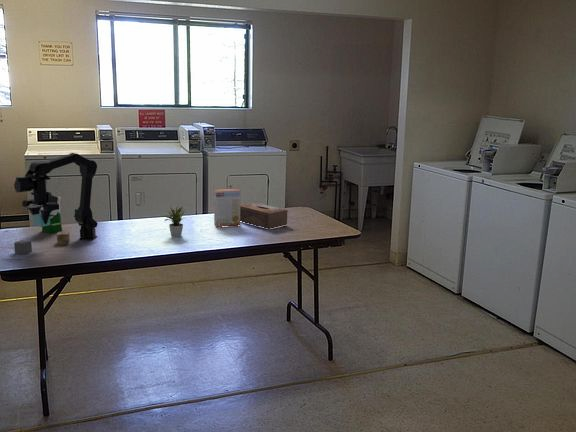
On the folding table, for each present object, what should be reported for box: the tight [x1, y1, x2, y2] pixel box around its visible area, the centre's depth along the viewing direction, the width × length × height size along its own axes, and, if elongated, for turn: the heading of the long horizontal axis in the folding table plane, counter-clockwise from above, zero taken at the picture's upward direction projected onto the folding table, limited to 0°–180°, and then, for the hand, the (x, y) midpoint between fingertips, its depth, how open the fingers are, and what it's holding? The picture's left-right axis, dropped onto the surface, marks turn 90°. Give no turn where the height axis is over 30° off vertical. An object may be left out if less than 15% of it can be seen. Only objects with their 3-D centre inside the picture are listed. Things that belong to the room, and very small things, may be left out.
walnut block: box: [56, 231, 71, 245], centre depth 266 cm, size 5×5×5 cm
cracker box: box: [213, 188, 241, 228], centre depth 308 cm, size 14×6×21 cm, turn 111°
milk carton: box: [40, 191, 63, 234], centre depth 285 cm, size 9×9×20 cm
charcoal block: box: [13, 239, 33, 255], centre depth 249 cm, size 5×5×5 cm
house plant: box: [160, 205, 186, 238], centre depth 284 cm, size 14×14×16 cm
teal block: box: [32, 212, 50, 228], centre depth 254 cm, size 5×5×5 cm
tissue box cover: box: [240, 202, 288, 229], centre depth 316 cm, size 26×14×10 cm, turn 46°
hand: (41, 222), depth 255 cm, fingers closed on teal block, 5 cm apart
